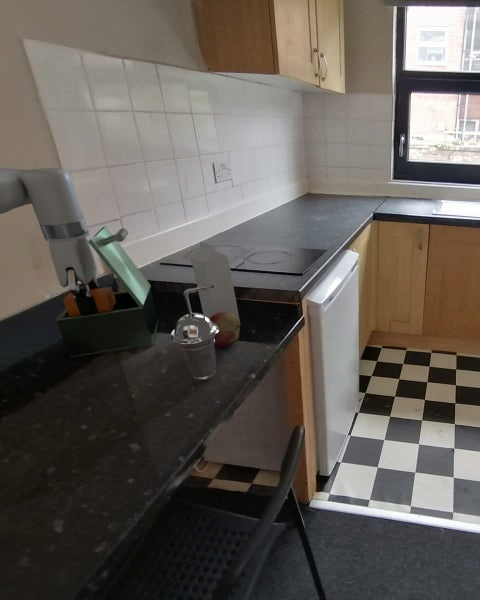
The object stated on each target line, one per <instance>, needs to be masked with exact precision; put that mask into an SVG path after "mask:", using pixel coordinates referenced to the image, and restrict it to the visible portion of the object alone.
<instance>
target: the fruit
mask: <svg viewBox="0 0 480 600" xmlns="http://www.w3.org/2000/svg"><path fill="white" fill-rule="evenodd" d="M209 319H210V320H211V321H212V322H214V323H216V324H217V327H218V329H219V330H218V332H217V334H216V335H215V347H220V348H227V347H230V346H232V345H234V344H235V343H236V342H237V341H238V339H239V338H240V334H241V333H240V331H241V330H240V325H239V320H240V319H239V320H238V318H237V317H236V316H235V315H233V314H230V313H228V312H221V313H217V314H215V315H213V316H211V317H210V318H209Z"/></svg>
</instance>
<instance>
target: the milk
mask: <svg viewBox="0 0 480 600" xmlns="http://www.w3.org/2000/svg"><path fill="white" fill-rule="evenodd" d="M199 246H200V248H198V249H197V251H195V253H193V254H192V255H191V256H190V260H191V265H192V270H193V274H194V279H195V283H196V288H197V287H202V286H207V285H213V287H214V288H211V289H206V290H201V291H197V292H198V297H199V301H200V305H201V311H202V314H204V315H205V316H207V317H208V318H210V317H211V316H213V315H215V314H217V313H221V312H228V313H230V314H233V315H235V316H236V317H237V318H238V320H239V326H241V321H240V315H239V309H238V304H237V298H236V293H235V288H234V283H233V277H232V270H231V265H230V260H229V255H228V254H225V253H221V252H219V251H216V248H215V245H214V244H211V243H207V242H204V241H199Z"/></svg>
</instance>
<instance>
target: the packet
mask: <svg viewBox="0 0 480 600" xmlns="http://www.w3.org/2000/svg"><path fill="white" fill-rule="evenodd" d="M84 291H85V290H84ZM113 293H114V291H113V288H112V286H107V287H100V288H98V289H90V295H91V296H93V298H94V300H95V303H96V306H97V309H98V312H105V311H111V310H112V309H113V307H114V305H115V303H116V300H115V297H114V294H113ZM62 302H63V304H64V307H65V308H66V310H67V312H68V315H69V317H70V316H77V315H81V314H80V312H79V309H78V307H77V304H76V301H75V299H74V297H73V294H72V293H71V292H70V291H69V293H68V294H67V295H65V297H64V299H63V300H62ZM98 312H97V313H98Z"/></svg>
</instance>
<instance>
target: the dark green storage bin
mask: <svg viewBox="0 0 480 600" xmlns="http://www.w3.org/2000/svg"><path fill="white" fill-rule="evenodd" d="M113 294H114V297H115V300H116V303H115V305H114V307H113V309H112V310H111V311H105V312H98V313H93V314H86V315H77V316H70V317H69V315H68V312H67V310H66V307H65V308H64V309H63V311H61V313H60V314H59V315H58V317H56V319H55V322H56V325H57V327H58V330H59V332H60V336H61V338H62V340H63V343H64V345H65V348H66V350H67V353H68V355H69V358H70V361H76V360H81V359H82V360H83V359H88V358H93V357H98V356H104V355H105V356H106V355H111V354H115V353H117V354H118V353H121V352H128V351H133V350H139V348H140V349H144V347H145V348H150V347H149V346H151V347H153V346H154V345H155V340H156V337H157V333H158V329H159V326H160V320H159V317H158V312H157V310H156V306H155V303H154V299H153V294H152V291H151V288H150V289H149V292H148V294H147V297H146V299H145V302H144V305H143V306H141V307H140V306H139V305H138V304H137V303H136V301H135V300H134V299H133V298H132V296H131V295H130V294H129V293H128V291H127V290H124V291H115V292H113Z"/></svg>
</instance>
